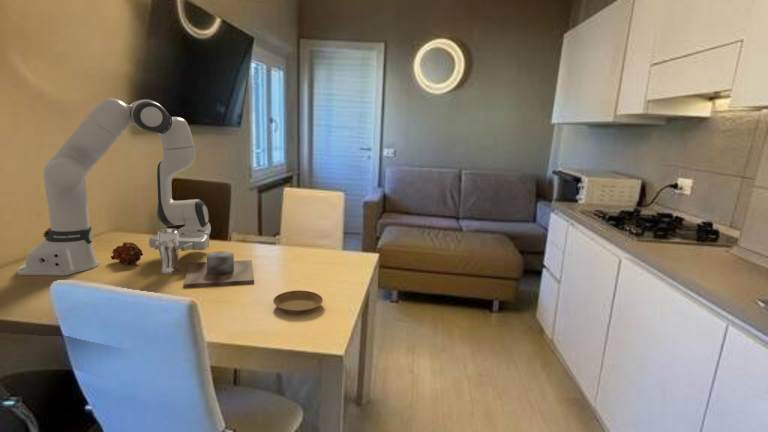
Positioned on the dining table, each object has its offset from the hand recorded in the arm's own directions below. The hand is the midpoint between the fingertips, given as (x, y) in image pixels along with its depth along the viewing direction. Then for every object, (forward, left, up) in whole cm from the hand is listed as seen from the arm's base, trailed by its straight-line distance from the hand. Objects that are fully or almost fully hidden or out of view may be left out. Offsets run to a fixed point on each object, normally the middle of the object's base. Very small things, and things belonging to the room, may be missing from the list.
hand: (169, 248), depth 153 cm
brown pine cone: (-16, +12, -9) cm, 22 cm away
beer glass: (0, 0, -9) cm, 9 cm away
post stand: (+17, -6, -9) cm, 20 cm away
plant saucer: (+40, -39, -9) cm, 57 cm away
